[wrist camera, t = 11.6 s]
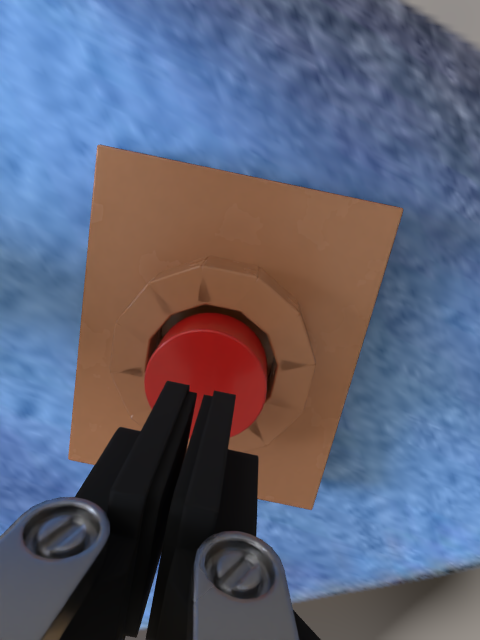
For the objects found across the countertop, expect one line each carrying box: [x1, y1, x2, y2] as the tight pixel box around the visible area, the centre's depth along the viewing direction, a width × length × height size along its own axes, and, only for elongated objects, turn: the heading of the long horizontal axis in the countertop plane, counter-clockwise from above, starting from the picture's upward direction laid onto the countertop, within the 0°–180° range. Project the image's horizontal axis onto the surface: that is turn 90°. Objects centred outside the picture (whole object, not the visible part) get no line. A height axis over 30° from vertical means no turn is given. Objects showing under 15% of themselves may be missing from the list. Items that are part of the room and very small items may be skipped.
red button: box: [144, 313, 267, 439], centre depth 14 cm, size 4×4×2 cm
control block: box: [68, 145, 403, 510], centre depth 16 cm, size 12×10×4 cm
